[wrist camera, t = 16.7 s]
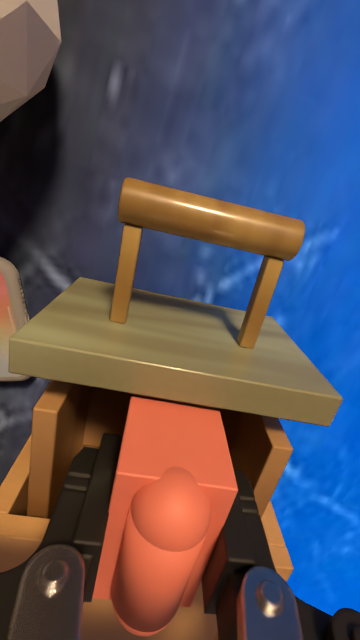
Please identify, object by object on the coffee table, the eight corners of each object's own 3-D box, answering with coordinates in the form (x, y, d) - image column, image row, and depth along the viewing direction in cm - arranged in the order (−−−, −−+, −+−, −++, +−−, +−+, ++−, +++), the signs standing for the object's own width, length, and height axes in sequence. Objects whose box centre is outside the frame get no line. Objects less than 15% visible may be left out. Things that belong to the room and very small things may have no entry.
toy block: (109, 504, 12) (80, 648, 8) (131, 392, 10) (107, 511, 6) (185, 514, 12) (192, 657, 8) (221, 407, 10) (251, 529, 6)
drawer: (90, 171, 14) (11, 144, 7) (306, 224, 15) (422, 246, 8) (62, 436, 19) (2, 567, 12) (220, 460, 20) (246, 592, 13)
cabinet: (61, 381, 19) (-29, 532, 10) (241, 411, 20) (294, 569, 11) (49, 510, 23) (-23, 694, 14) (198, 528, 24) (214, 708, 16)
